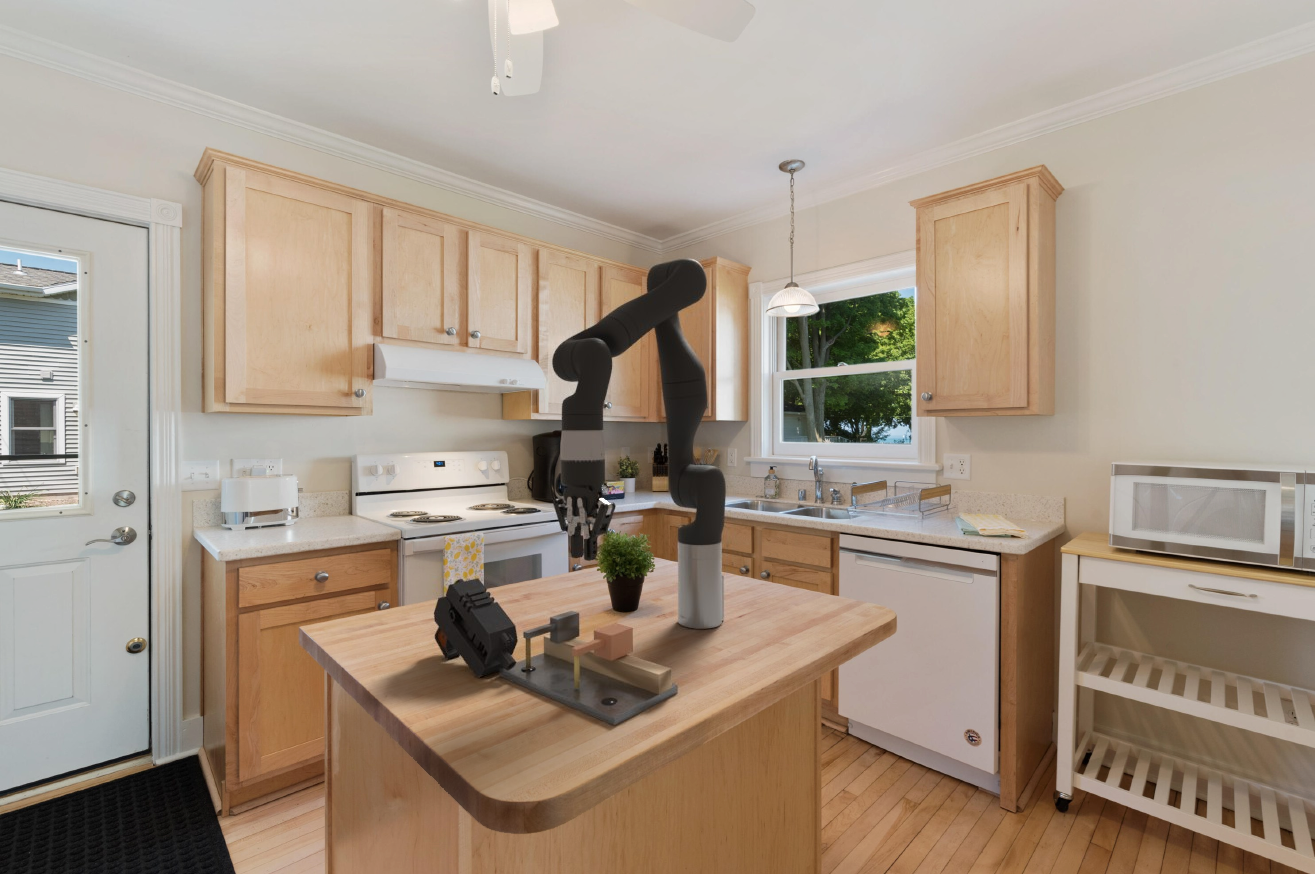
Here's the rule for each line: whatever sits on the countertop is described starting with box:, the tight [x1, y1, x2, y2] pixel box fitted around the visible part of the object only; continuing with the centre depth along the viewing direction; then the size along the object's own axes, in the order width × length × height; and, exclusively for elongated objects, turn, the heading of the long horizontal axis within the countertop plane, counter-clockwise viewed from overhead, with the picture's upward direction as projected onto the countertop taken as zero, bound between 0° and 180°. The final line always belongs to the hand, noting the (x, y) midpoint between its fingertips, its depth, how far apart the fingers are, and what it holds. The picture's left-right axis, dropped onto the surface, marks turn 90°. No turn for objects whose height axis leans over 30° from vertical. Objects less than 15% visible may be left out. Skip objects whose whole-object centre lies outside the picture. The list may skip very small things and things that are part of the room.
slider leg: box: [572, 622, 634, 688], centre depth 99 cm, size 11×4×7 cm, turn 139°
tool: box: [433, 578, 519, 678], centre depth 108 cm, size 6×19×15 cm, turn 51°
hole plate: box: [498, 652, 679, 727], centre depth 100 cm, size 14×27×1 cm, turn 49°
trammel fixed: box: [522, 610, 673, 694], centre depth 101 cm, size 11×27×7 cm, turn 49°
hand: (583, 558), depth 106 cm, fingers open, 2 cm apart
